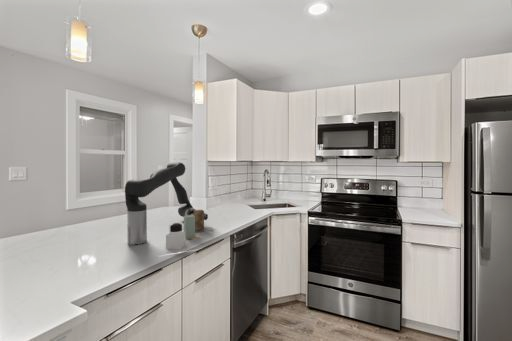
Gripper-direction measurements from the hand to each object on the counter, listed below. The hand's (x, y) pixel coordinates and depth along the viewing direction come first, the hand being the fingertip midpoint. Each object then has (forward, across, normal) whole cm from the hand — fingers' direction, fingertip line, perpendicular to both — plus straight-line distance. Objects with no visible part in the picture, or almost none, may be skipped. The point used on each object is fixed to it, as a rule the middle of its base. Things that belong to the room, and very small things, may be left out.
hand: (199, 219), depth 157 cm
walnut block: (-1, 0, +7) cm, 7 cm away
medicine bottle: (+23, -19, +8) cm, 31 cm away
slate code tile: (-1, 0, +8) cm, 8 cm away
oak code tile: (+11, -9, +8) cm, 16 cm away
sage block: (+11, -9, +7) cm, 16 cm away
